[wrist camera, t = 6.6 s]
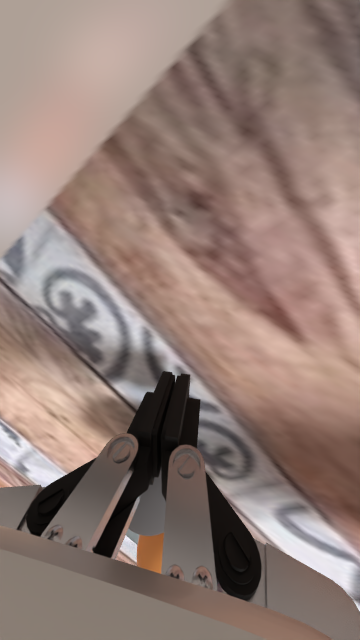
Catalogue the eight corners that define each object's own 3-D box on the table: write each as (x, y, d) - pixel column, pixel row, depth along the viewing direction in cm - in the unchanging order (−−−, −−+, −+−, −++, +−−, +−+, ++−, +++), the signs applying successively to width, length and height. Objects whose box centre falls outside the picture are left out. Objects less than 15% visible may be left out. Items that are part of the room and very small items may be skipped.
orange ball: (122, 571, 12) (126, 610, 13) (204, 597, 11) (198, 635, 13) (149, 479, 17) (149, 515, 19) (206, 491, 16) (201, 528, 18)
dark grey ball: (83, 526, 10) (134, 451, 16) (166, 592, 9) (192, 485, 14) (97, 449, 9) (147, 397, 15) (193, 508, 8) (211, 426, 13)
